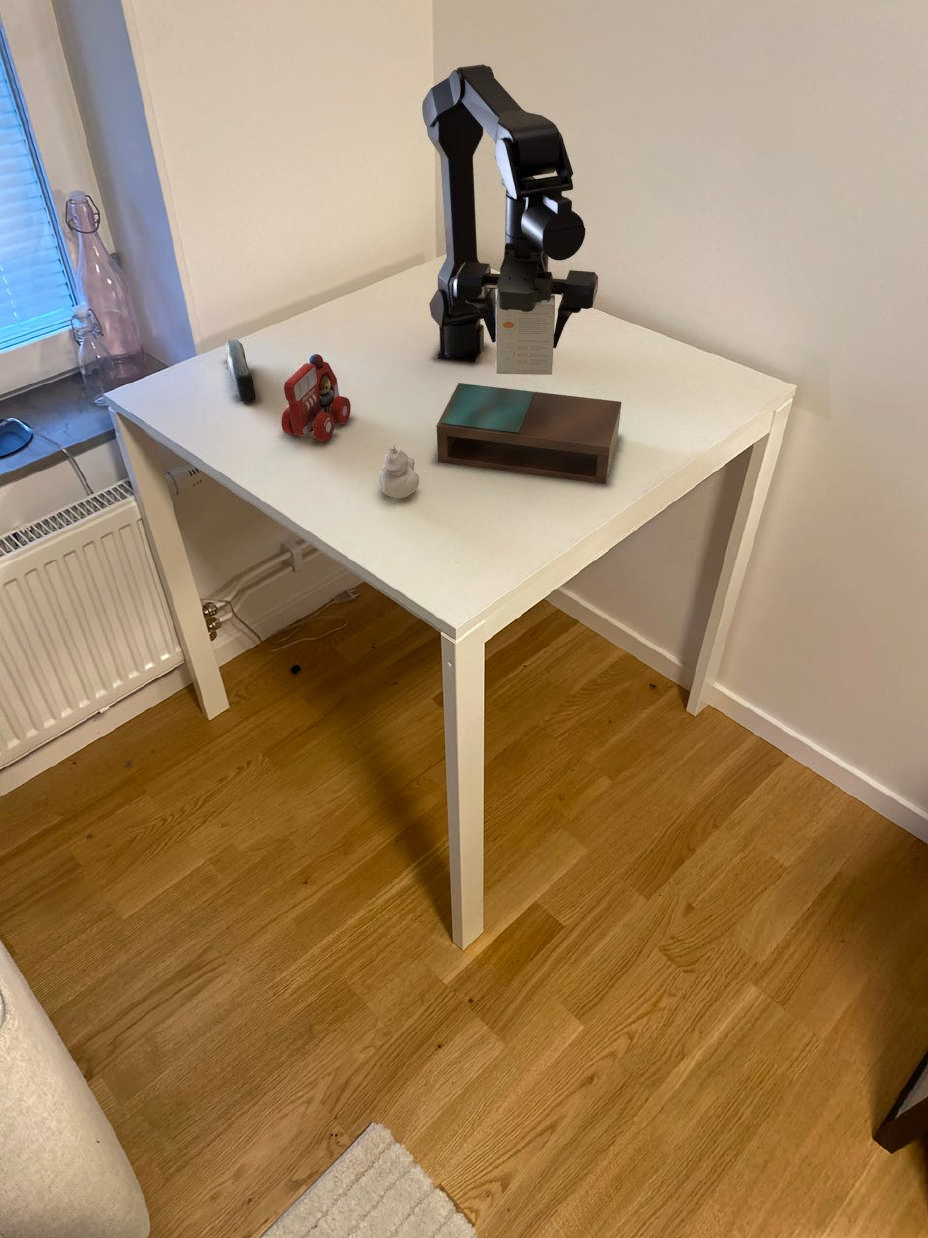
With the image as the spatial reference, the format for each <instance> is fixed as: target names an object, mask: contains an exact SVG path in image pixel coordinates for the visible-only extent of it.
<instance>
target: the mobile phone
mask: <svg viewBox="0 0 928 1238" xmlns="http://www.w3.org/2000/svg"><path fill="white" fill-rule="evenodd" d="M225 350H226V353H225V357H226V363H227V367H228V370H229V375H230V377H231V380H232V383H233V386H234V388H235V391H236V393H237V397H238V399H239V400H240V401H241V402H244V403H249V402H255V401H256V400H257V394H256V388H255V383H254V378H253V375H252V373H251V371H250V368H249V366H248V363H247V358H246V352H245V348H244V345H243V344H242V342H241V341H240V340H239V339H230V340H229V339H228V341H226V344H225Z"/></svg>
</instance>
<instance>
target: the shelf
mask: <svg viewBox="0 0 928 1238" xmlns="http://www.w3.org/2000/svg"><path fill="white" fill-rule="evenodd" d="M622 404H623V403H622V401H618V400H611V399H601V398H593V397H586V396H585V397H584V396H576V395H575V396H574V395H569V394H568V395H567V394H560V393H559V394H558V393H549V392H541V391H532V390H523V389H516V388H506V387H499V386H498V387H497V386H489V385H480V384H471V383H464V382H463V383H462V382H458V383H457V384H456V386H455V388H454V390H453V392H452V395H451V397H450V398H449V400H448V402H447V404H446V406H445V408H444V410H443V412H442V414H441V416H440V418H439V419H438V421H437V423H436V426H435V427H436V446H437V447H436V448H437V450H436V451H437V462H438V463H445V464H452V465H458V466H467V467H474V468H481V469H489V470H495V471H504V472H510V473H519V474H526V475H534V476H541V477H549V478H557V479H563V480H571V481H578V482H579V481H580V482H587V483H596V484H602V485H606V484H607V482H608V478H609V473H610V470H611V465H612V462H613V458H614V454H615V450H616V446H617V442H618V439H619V431H620V430H619V429H620V421H621V412H622Z"/></svg>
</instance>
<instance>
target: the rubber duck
mask: <svg viewBox="0 0 928 1238" xmlns="http://www.w3.org/2000/svg"><path fill="white" fill-rule="evenodd" d="M415 461H416V460H415V459H414V458H413V457H410V456H408V454H407V453H405V452H404V451H403V450H402V449H401V450H399V449H397V448H396V446H395V445H393V446H392V447H390V448H389V449H388V451H387V453H386V455H385V457H384V467H383V468H382V469H381V470H380V471H379V474H378V481H379V485H380V486H381V490H382V493H383V494H385V496H388V497H391V498H394V499H405V498H407V497H408V496H409V495H411V494H413V493H414V492H415V491H416V490H417V488H418V487H419V485H420V476H419V474H418V473H417V472H415V465H416V462H415Z"/></svg>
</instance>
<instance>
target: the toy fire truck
mask: <svg viewBox="0 0 928 1238" xmlns="http://www.w3.org/2000/svg"><path fill="white" fill-rule="evenodd" d="M283 392H284V398H285V400H286V401H287V403H288V406H287V407H286V408H285V409H284V410H283V412H282V415H281V421H280V426H281V430H282V431H283V432H284V434H288V435H291V436H292V435H293V436H302V437H303V436H304V437H305V436H306V435H307V434H308V433H312V432H313V433H312V434H313V437H314V438H315V440H316V441H319V442H320V441H321V442H328V441H329V440H330V439H331V438H332V437H333V433H334V430H335V424H338V425H344V424H346V423H347V422H348V420H349V418H350V416H351V409H352V407H351V405H352V404H351V401H350V399H349V398H348V397H346V396H342V395H340V392H339V383H338V378H337V376H336V374H335V372H334V371H333V369H332V367H331V365H330V363H329V362H328V361H324V358H323V356H322V355H321V354H318V353H314V354H312V355H311V356H310V357H309V360H308V362H305V363H304V364H302V366H301V367H300V368H298V369H297V370H296V372H294V373H293V374H292V375H291V376H290V377H288V379H286V381H285V382H284V384H283Z"/></svg>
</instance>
